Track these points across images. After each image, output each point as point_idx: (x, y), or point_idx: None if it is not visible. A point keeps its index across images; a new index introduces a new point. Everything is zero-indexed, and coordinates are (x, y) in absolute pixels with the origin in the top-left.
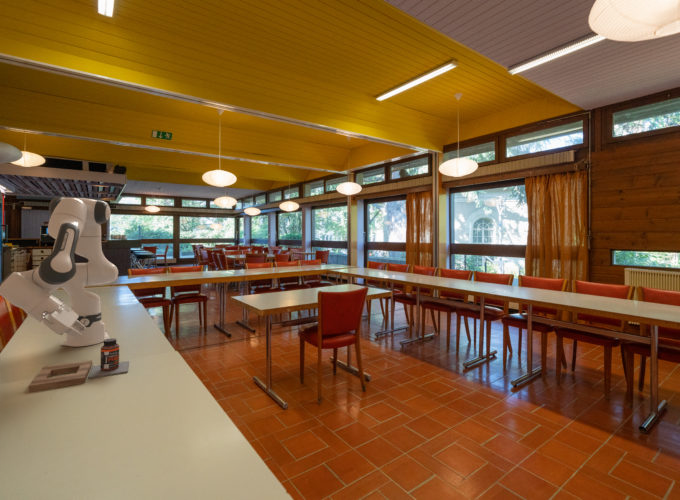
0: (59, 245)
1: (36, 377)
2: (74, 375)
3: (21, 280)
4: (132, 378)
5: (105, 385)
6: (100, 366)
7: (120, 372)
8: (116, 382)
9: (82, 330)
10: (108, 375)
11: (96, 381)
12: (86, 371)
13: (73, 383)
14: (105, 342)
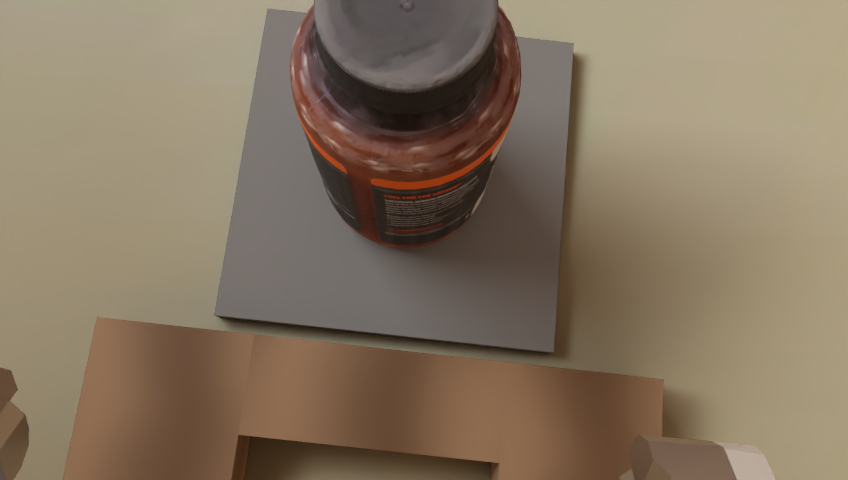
0: None
1: None
2: (552, 475)
3: None
4: (742, 31)
5: (802, 225)
6: (410, 242)
7: (568, 99)
8: (774, 146)
9: (10, 434)
10: (560, 195)
11: (660, 290)
12: (488, 368)
13: None
14: (467, 80)
